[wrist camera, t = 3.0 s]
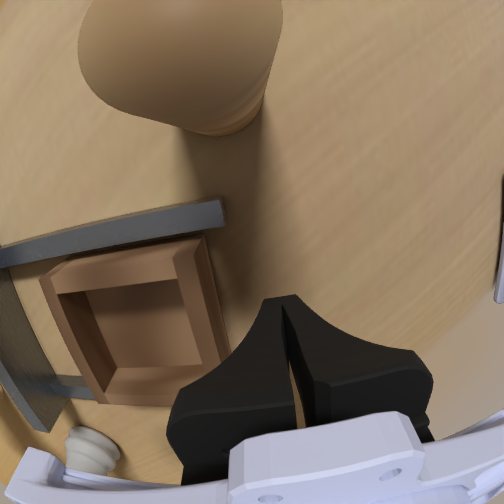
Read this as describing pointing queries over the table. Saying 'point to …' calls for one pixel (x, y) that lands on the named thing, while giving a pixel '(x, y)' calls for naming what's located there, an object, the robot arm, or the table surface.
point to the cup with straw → (1, 392)
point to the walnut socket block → (139, 319)
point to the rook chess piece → (90, 451)
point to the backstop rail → (62, 243)
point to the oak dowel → (182, 59)
